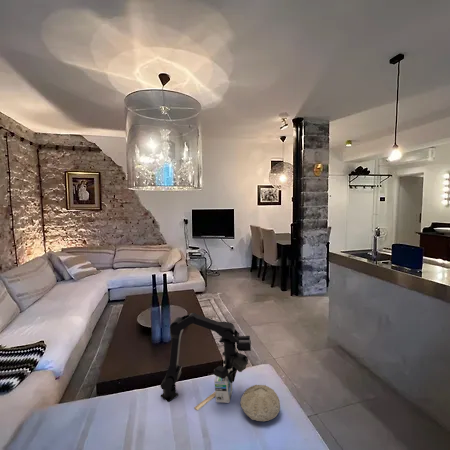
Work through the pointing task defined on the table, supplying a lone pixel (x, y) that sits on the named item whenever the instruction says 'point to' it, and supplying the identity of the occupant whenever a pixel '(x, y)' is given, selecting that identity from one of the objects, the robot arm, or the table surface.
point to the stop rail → (205, 401)
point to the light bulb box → (223, 389)
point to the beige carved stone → (260, 403)
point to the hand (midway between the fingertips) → (232, 382)
